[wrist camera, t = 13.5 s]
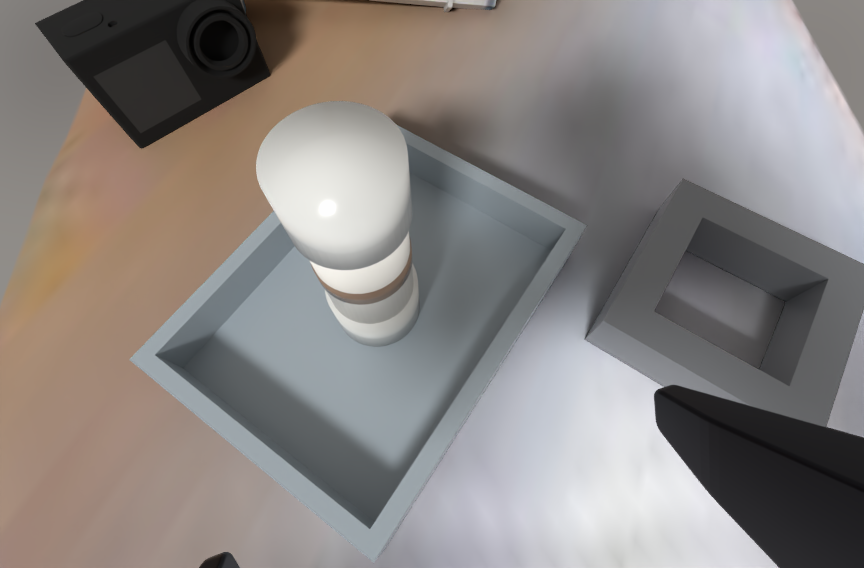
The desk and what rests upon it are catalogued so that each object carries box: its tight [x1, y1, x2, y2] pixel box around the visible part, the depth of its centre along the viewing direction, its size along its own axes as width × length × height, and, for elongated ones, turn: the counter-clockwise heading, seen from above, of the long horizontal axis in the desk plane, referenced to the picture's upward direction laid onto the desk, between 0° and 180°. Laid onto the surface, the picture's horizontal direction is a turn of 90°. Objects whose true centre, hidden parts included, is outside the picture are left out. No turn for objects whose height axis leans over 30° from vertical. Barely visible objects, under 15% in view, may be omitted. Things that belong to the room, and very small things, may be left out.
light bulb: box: [256, 101, 420, 347], centre depth 19 cm, size 4×4×12 cm
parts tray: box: [129, 125, 587, 562], centre depth 23 cm, size 18×14×4 cm
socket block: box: [585, 179, 864, 427], centre depth 23 cm, size 10×10×3 cm
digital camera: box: [35, 0, 270, 148], centre depth 29 cm, size 10×5×7 cm, turn 131°
